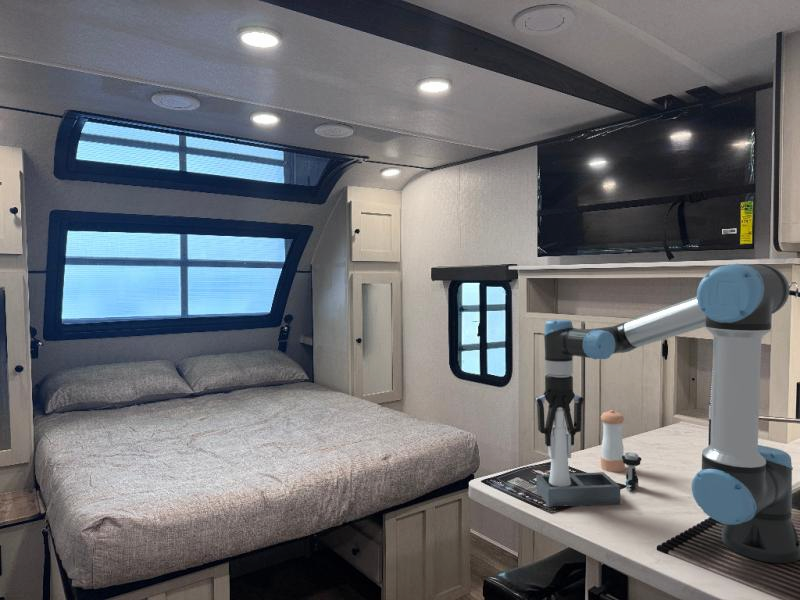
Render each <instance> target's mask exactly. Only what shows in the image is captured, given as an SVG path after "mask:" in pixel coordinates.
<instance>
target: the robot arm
mask: <svg viewBox="0 0 800 600" xmlns="http://www.w3.org/2000/svg"><path fill="white" fill-rule="evenodd" d="M789 296H790V285H789V281H788V279H787V278H786V276H785V275H784V273H782V272H781V271H780V270H778V269H777V268H775V267H773V266H771V265H767V264H763V263H751V264H750V263H748V264H747V263H729V264H725V265H721V266H718V267H716V268H713V269H711V270H710V271H709V272H708V273H707V274H706V275H705V276H703V278H702V279H701V281H700V282H699V284H698V287H697V291H696V296H694V297H691V298H689V299H686V300H683V301H680V302H677V303H674V304H672V305H669V306H666V307H663V308H661V309H658V310H655V311H652V312H650V313H647V314H644V315H641V316H638V317H636V318H633V319H629V320H628V321H625V322H622V323H619V324H615V325H611V326H607V327H597V328H575V327H574V325H573V322H572V320H569V319H549V320H547V321H545V323H544V333H543V338H544V373H545V374H546V375H545V376H544V386H545V387H544V388H545V389H544V392H543V395H540V396H539V397H538V396H535V397H534V401H535V404H536V410H537V411H536V412H537V415H536V416H537V429H538V431H539V432H540V433H541V434H544V445H545V446H546V447H547V448H548V449H547V452H548V455H547V456H548V457H549V458H550V460H551V459H554V435H553V434H552V430H553V426H554V417H555V412H556V410H557V408H559V407H562V408H563V410H564V422H565V427H566V436H567V454H568V459H572V446H574V445H575V435H576V433H581V432H582V406H583V403H584V400H585V399H584V397H583V396H581V395H577V394H575V393H574V378H573V374H574V366H573V365H574V364H573V361H574V360H573V359H574V358H573V357H574V356H575V357H582V358H587V359H588V358H589V359H592V360H608V359H610V357H611V356H612V355H614V354H624V353H628V352H631V351H634V350H635V349H637V348H639V347H643V346H646V345H650V344H653V343H656V342H660V341H663V340H667V339H669V338H673V337H675V336H679V335H683V334H686V333H689V332H692V331H695V330H698V329H699V330H700V329H702V328H705V329H706V330H708V332H710V334H712V337H713V344H712V345H713V346H712V347H713V348H712V375H711V376H712V378H711V379H712V381H711V408H710V409H711V410H710V411H711V413H710V440H709V441H710V444H708V446H707V447H704V448H703V450H702V451H701V470H700V471H698V472H696V474H695V475H694V477H693V479H692V482H691V493H692V496H693V499H694V501H695V502H696V504H697V506H698V507H700V509H701V510H702V511H703V513H704V514H706V515H707V516H708V517H710V518H711V519H713V520H714V521H716V522H718V523H720V524H724V525H723V526H722V529H721V541H722V542H723V544H724V545H725V546H726V548H728V549H730V550H731V551H733V552H734V553H737V554H739V555H741V556H744V557H747V558H749V559H752V560H755V561H759V562H760V561H761V562H766V563H773V564H789V563H795V562H797V561H798V560H800V539H799V536H798V533H797V530H796V527H795V525H794V522H793V519H792V518H793V516H792V512H793V511H792V510H793V509H792V508H793V507H792V505H793V504H792V503H793V502H792V501H793V500H792V499H793V498H792V497H793V496H792V495H793V494H792V492H793V490H792V489H793V488H792V487H793V486H792V485H793V469H794V468H793V466H792V458H791V455H790V454H789V453H788V452H786V451H783V450H782V449H779V448H775V447H772V446H765V445H762V444H761V445H760V444H759V422H760V421H759V420H760V418H759V417H760V394H761V391H760V389H761V361H762V359H761V358H762V339H763V337H765V336H766V335H767V334H769V333H770V332H771V329H772V315H773V314H775V313H777V312H778V311H780V310H781V309H782V308H783V307H784V306H785V304H786V303H787V301H788V299H789ZM545 401H546V402H547V403H548V411H547V415H546V416H547V417H546V420H545V406H544V405H545V404H546V403H545ZM572 401H573V402H574V404H573V418H572V414H571V407H570V404H571V402H572Z"/></svg>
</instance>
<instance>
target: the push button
mask: <svg viewBox="0 0 800 600" xmlns="http://www.w3.org/2000/svg"><path fill="white" fill-rule="evenodd" d="M622 459H623V463H624V464H625V465H626V466H627V472H626V474H625V479H626V481H625V487H626V491H634V490H635V489H636V490H637V489H638V488H639V477H638V475H637V472H636V467H637V466H640V465H641V462H642V458H641V457H640V456H639V454H638V453H635V452H625V453H624V454H623V456H622Z"/></svg>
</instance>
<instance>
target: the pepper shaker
mask: <svg viewBox="0 0 800 600" xmlns="http://www.w3.org/2000/svg"><path fill="white" fill-rule="evenodd" d="M600 419H601V422H602V424H603V431H602V432H603V436H602V441H601V455H600V468H601V469H602V470H603V471H606V472H611V473H621V472H624V471H625V470H626V468H625V467H626V466H625V465H626V464H624V463H623V459H622V456H623V455H624V443H623V437H622V424H623V422H624V421H625V417H624V416H623V414H622V413H620V412H617V411H615V410H614V409H610V410H609V411H605V412H602V414H601V416H600Z"/></svg>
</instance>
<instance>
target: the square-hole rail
mask: <svg viewBox="0 0 800 600" xmlns="http://www.w3.org/2000/svg"><path fill="white" fill-rule="evenodd" d="M569 475H570V480H571V485H570V486H567V487H557V486H553V485H551V484H550V483H549V478H550V473H549V474H536V477H535V478H536V493H537V492H538V493H539V494H538V493H537V494H538V496H541V497H542V498H541V497H540V498H541V499H542V500H544V501H545V502H546V503H545V502H544V501H543V502H544V503H545V505H546V504H547V505H548V506H547V505H546V506H547V507H548V508H554V507H553V506H562V505H570V506H572V507H592V506H593V507H594V506H614V505H615V506H616V505H621V485H619V484H618V483H617V482H616V481H615V480H613V479H612V478H611V477H610V476H609V475H608V474H606V473H605V472H604V471H603V472H601V471H600V472H598V471H597V472H577V473H576V472H575V473H574V472H573V473H569Z"/></svg>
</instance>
